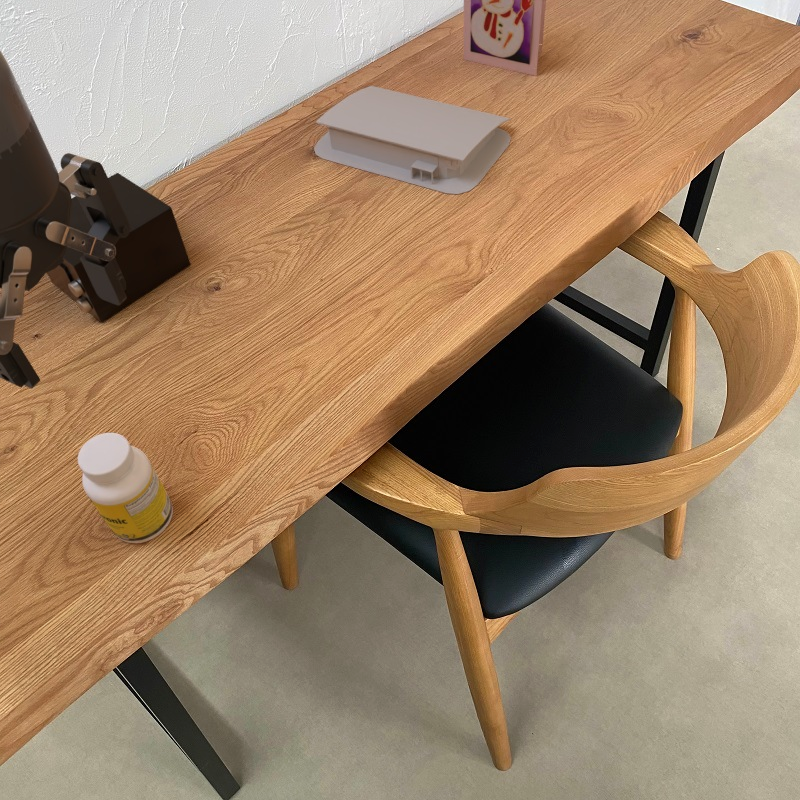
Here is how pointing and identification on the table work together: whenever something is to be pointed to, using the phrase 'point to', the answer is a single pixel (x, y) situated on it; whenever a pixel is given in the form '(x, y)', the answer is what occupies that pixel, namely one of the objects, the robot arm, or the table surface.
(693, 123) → the table surface
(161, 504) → the supplement bottle
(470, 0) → the greeting card
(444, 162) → the miniature building model
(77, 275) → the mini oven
